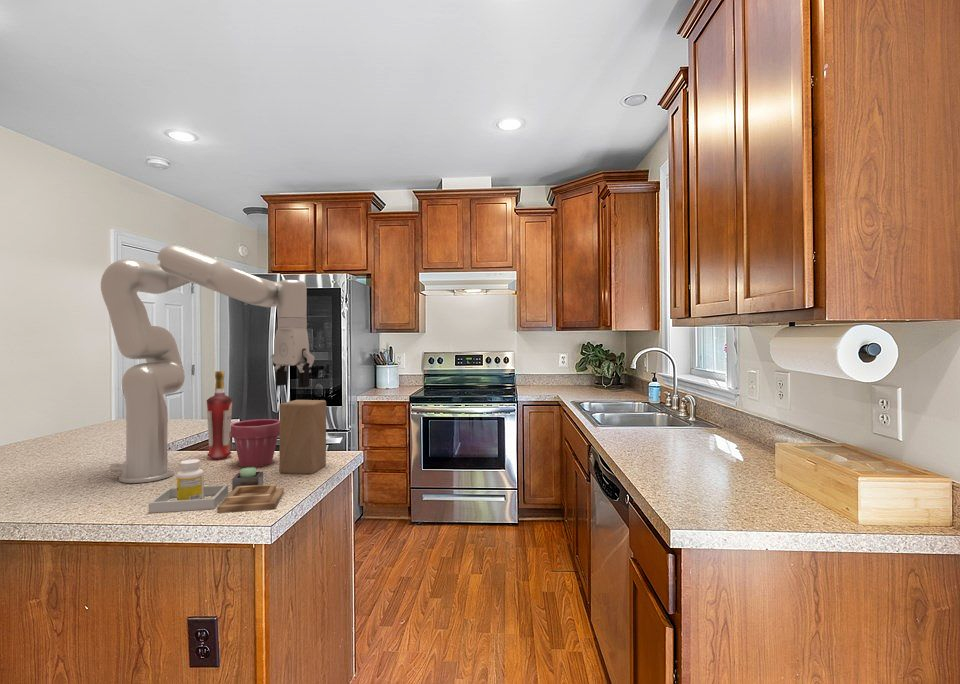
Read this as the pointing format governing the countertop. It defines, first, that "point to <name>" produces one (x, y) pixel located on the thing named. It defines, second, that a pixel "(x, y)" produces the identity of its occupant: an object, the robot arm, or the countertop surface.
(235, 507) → the brown wooden square tray
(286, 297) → the robot arm
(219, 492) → the frame
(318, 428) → the wooden block
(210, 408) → the liquor
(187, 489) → the supplement bottle
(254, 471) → the button
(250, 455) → the plant pot
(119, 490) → the countertop surface
